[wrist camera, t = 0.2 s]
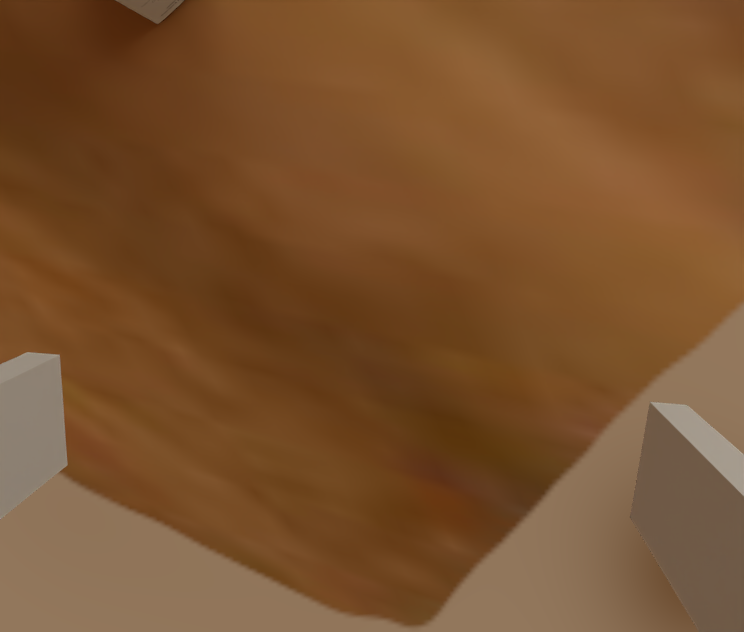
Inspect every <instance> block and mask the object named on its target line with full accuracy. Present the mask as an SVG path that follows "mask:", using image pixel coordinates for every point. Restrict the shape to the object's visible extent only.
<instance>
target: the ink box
mask: <svg viewBox="0 0 744 632" xmlns="http://www.w3.org/2000/svg"><path fill="white" fill-rule="evenodd" d="M115 1H117V2H119V3H121V4H122V5H124V6H126V7H128V8H129V9H131V10H133V11H135V12H137V13H138V14H140V15H142V16H144V17H145V18H147V19H149V20H151V21H153V22H154V23H156V24H159V23H160V22H161V21H162V20H164V19H165V18H166V17H167V16H168V15H169V14H170V13H172V12H173V11H174V10H175V9H176V8H177V7H178V6H179V5H180V4H181V3H182V2H183V1H184V0H115Z"/></svg>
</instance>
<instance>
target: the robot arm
mask: <svg viewBox="0 0 744 632" xmlns="http://www.w3.org/2000/svg"><path fill="white" fill-rule="evenodd" d="M66 466H67V453H66V439H65V424H64V410H63V396H62V382H61V367H60V355H55V354H43V353H30V352H27V353H25V354H23V355H20V356H18V357H16V358H14V359H11V360H9V361H7V362H5V363H2V364H0V519H2V518H3V517H4V516H5V515H7V514H8V513H9V512H10V511H11V510H12V509H14V508H15V507H16V506H17V505H19V504H20V503H21V502H23V501H24V500H25V499H26V498H27V497H29V496H30V495H31V494H32V493H34V492H35V491H36V490H37V489H39V488H40V487H41V486H42V485H43V484H45V483H46V482H47V481H48V480H49V479H51V478H52V477H53V476H55V475H56V474H57V473H58V472H59V471H61V470H62V469H63V468H64V467H66ZM630 518H631V520H632V521H633V523H634V525H635V526H636V528H637V530H638V532H639V533H640V535H641V536H642V538H643V540H644V541H645V543H646V545H647V546H648V548H649V550H650V552H651V553H652V555H653V556H654V558H655V560H656V561H657V563H658V565H659V566H660V568H661V570H662V571H663V573H664V575H665V576H666V578H667V580H668V581H669V583H670V585H671V586H672V588H673V590H674V591H675V593H676V595H677V596H678V598H679V600H680V601H681V603H682V605H683V606H684V608H685V610H686V611H687V613H688V615H689V616H690V618H691V620H692V621H693V623H694V625H695V626H696V628H697V630H698V631H699V632H744V454H743V453H741V452H740V451H739V450H738V449H737V448H736V447H735V446H733V445H732V444H731V443H730V442H729V441H728V440H727V439H725V438H724V437H723V436H722V435H721V434H720V433H719V432H717V431H716V430H715V429H714V428H713V427H712V426H711V425H709V424H708V423H707V422H706V421H705V420H704V419H702V418H701V417H700V416H699V415H698V414H697V413H696V412H695V411H693V410H692V409H691V408H690V407H689V406H688V405H681V404H669V403H657V402H650V405H649V411H648V416H647V423H646V428H645V434H644V440H643V446H642V451H641V457H640V463H639V469H638V474H637V480H636V486H635V492H634V498H633V503H632V509H631V515H630Z"/></svg>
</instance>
